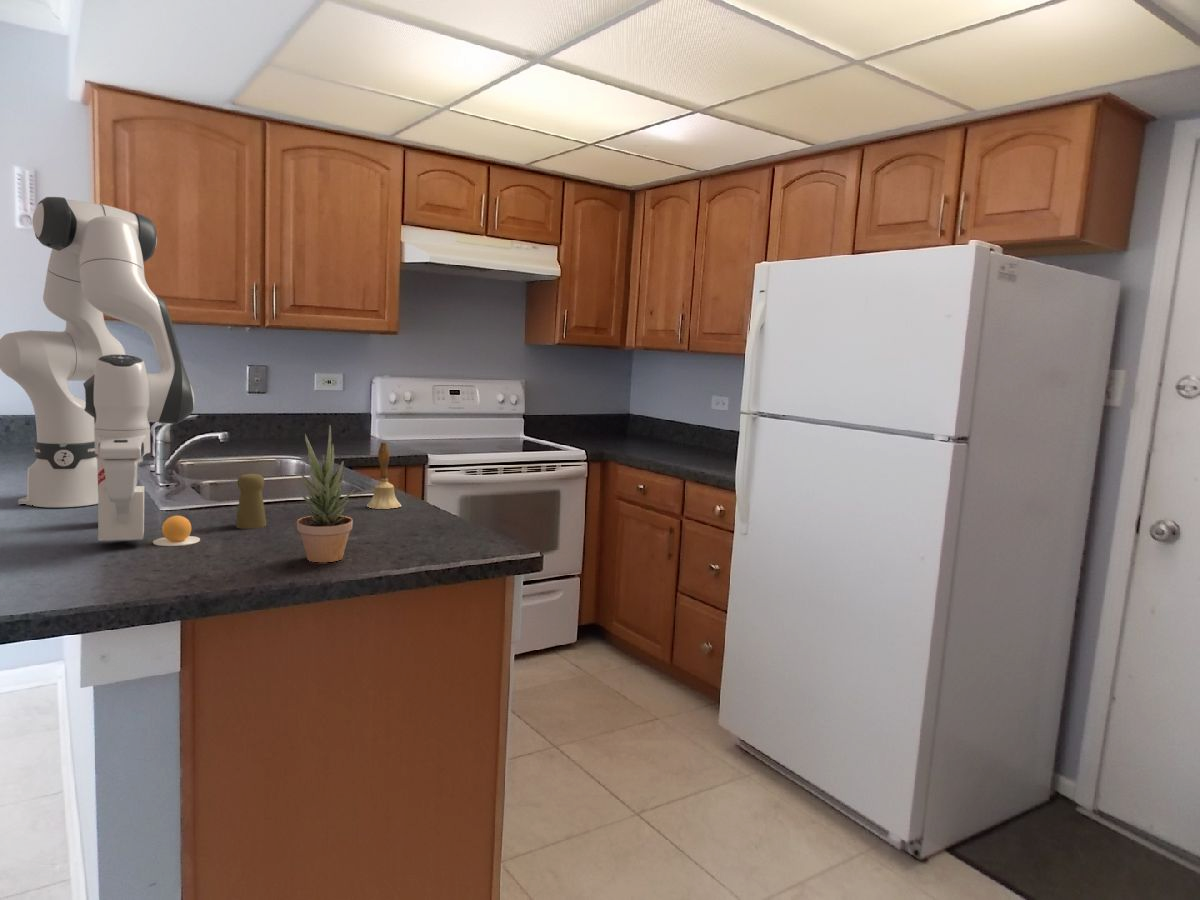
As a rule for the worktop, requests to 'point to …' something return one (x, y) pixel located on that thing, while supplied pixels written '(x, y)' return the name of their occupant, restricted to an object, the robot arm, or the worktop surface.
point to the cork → (251, 502)
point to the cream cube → (108, 517)
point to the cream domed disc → (167, 542)
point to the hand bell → (384, 484)
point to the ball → (176, 528)
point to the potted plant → (324, 510)
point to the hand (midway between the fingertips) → (124, 517)
